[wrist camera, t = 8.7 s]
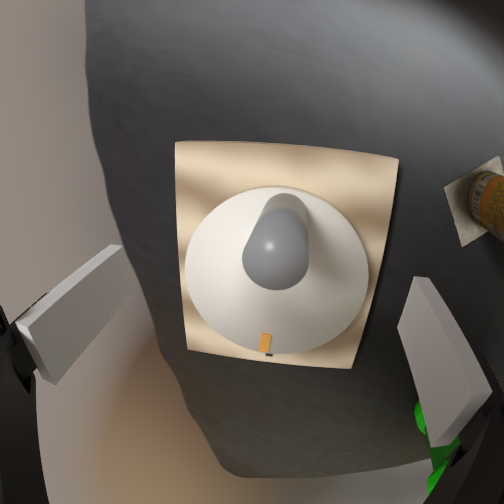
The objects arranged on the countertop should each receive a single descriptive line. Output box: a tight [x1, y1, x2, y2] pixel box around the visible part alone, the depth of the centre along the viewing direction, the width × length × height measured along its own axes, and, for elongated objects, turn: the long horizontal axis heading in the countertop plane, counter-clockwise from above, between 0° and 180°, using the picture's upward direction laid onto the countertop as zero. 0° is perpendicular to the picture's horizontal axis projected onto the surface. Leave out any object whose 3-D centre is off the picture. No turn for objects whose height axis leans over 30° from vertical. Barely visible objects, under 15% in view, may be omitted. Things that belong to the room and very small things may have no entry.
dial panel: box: [175, 141, 399, 369], centre depth 30 cm, size 24×20×2 cm
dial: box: [185, 185, 369, 354], centre depth 24 cm, size 17×17×11 cm
